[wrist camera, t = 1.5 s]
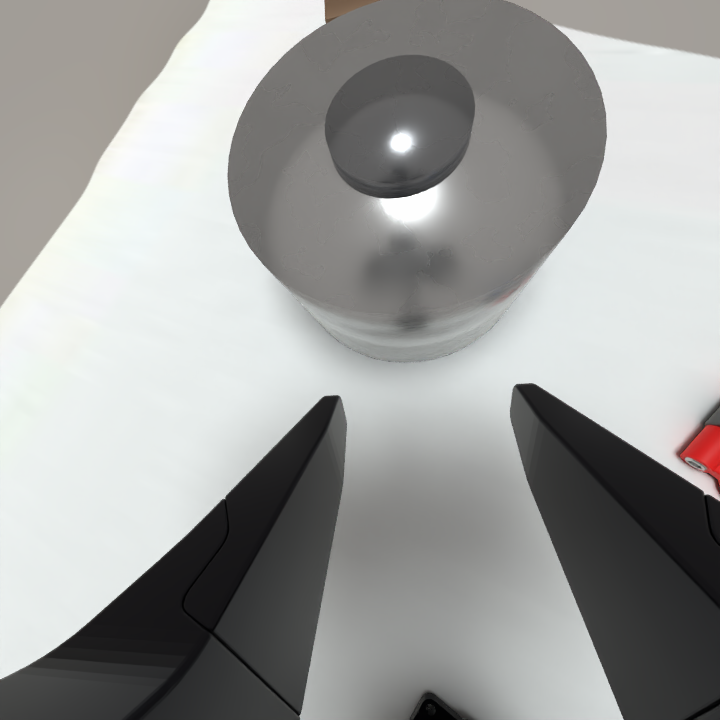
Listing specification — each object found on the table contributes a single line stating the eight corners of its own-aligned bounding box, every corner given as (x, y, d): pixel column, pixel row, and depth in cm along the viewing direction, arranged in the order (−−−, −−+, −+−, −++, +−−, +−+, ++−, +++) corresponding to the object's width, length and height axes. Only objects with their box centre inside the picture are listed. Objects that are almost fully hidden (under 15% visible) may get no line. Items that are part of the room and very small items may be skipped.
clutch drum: (449, 407, 21) (482, 389, 10) (262, 297, 25) (147, 201, 14) (566, 208, 22) (704, 8, 12) (371, 133, 26) (340, -67, 16)
